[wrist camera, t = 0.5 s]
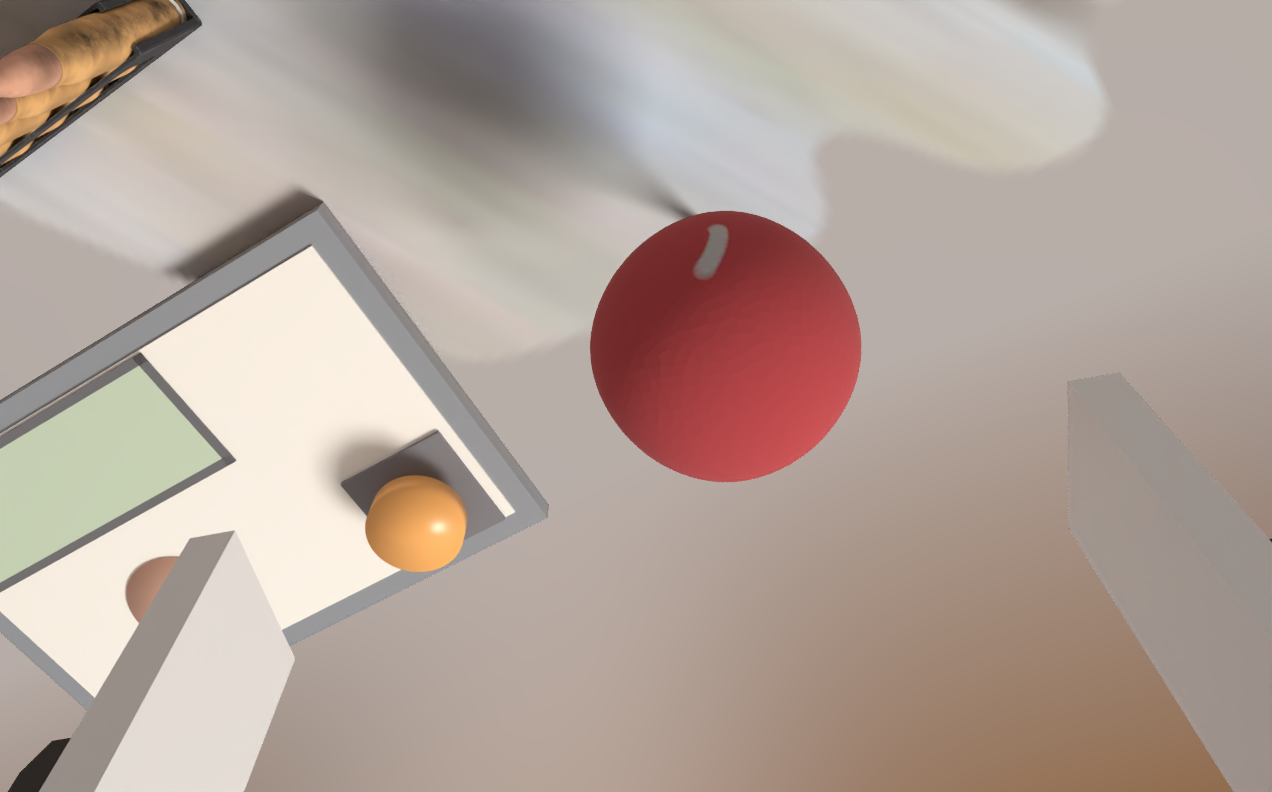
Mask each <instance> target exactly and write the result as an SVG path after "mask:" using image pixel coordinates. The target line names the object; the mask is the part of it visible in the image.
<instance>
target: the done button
mask: <svg viewBox="0 0 1272 792" xmlns="http://www.w3.org/2000/svg"><path fill="white" fill-rule="evenodd" d="M466 527H467V510H466V507H465V505H464V503H463V501H462V499H461V498H460V496H459V495H458V494H457V493H456V491H454V490H453V489H452V488H451V487H450V486H448V485H447V484H445V483H443V482H441V481H440V480H437V479H434V478H431V477H427V476H420V475H410V476H404V477H400V478H396V479H394V480H392V481H390V482H388V483H387V484H385V485H384V486H383V487H382V488H381V489H380V490H379V491H378V493H377V494H376V496H375V498H374V500H373V502H372V505H371V508H370V510H369V513H368V516H367V519H366V523H365V533H366V538H367V541H368V543H369V545H370V547H371V548H372V550H373V551H374V552H375V554H376V555H377V556H378V557H379V558H381V559H382V560H383V561H385V562H386V563H388V564H389V565H391V566H393V567H396V568H398V569H401V570H405V571H411V572H427V571H432V570H436V569H439V568H441V567H443V566H445V565H447V564H448V563H449V562H451V561H452V560H453V559H454V558H455V557H456V556H457V554H458V553H459V551H460V549H461V547H462V544H463V540H464V536H465V531H466Z"/></svg>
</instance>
